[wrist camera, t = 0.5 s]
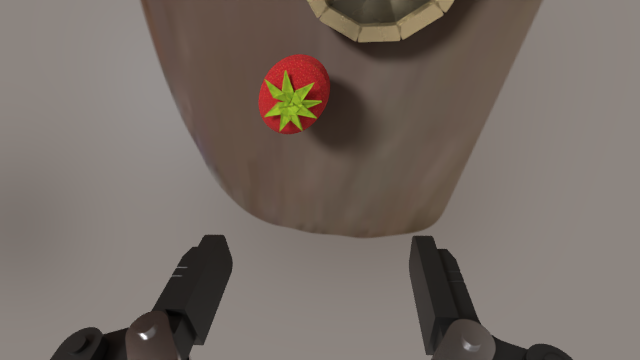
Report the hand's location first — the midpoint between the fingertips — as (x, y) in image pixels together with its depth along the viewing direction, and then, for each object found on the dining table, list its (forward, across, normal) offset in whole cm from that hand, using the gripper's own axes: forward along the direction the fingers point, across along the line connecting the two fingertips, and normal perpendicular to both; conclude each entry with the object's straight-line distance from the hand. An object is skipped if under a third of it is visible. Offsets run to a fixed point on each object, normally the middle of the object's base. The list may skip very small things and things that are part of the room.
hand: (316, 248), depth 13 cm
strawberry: (+23, +3, -1) cm, 24 cm away
